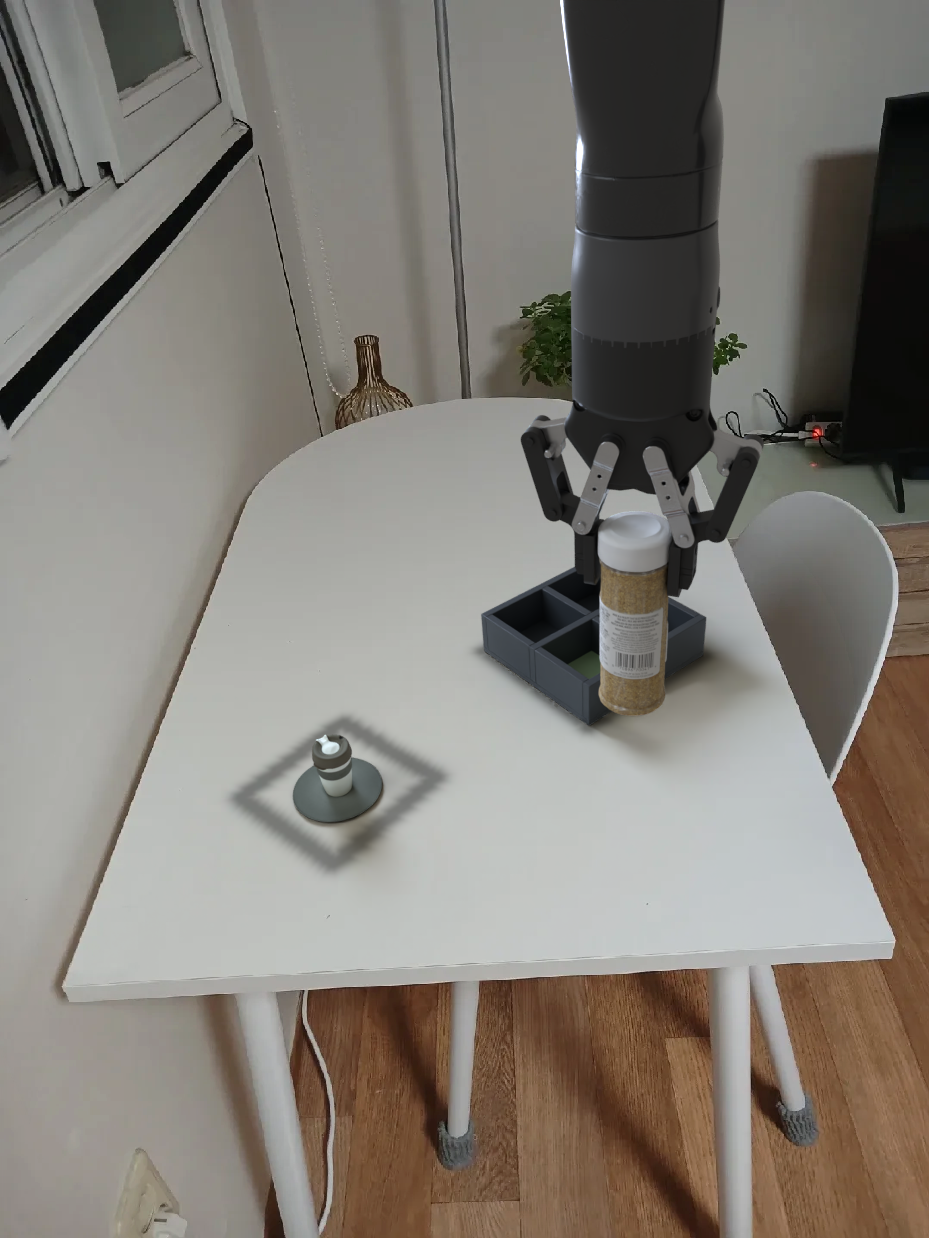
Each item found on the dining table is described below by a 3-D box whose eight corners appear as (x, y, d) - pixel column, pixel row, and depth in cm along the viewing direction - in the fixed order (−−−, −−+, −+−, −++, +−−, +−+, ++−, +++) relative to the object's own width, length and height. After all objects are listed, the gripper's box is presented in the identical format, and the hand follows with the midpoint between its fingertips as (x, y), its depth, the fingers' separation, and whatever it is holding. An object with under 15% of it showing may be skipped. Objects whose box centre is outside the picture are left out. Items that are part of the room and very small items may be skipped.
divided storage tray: (703, 655, 94) (706, 617, 91) (588, 725, 86) (589, 686, 84) (593, 592, 104) (594, 556, 101) (483, 650, 97) (480, 613, 94)
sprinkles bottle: (672, 683, 66) (682, 513, 58) (655, 725, 63) (664, 550, 55) (607, 671, 68) (609, 503, 60) (588, 711, 64) (587, 539, 57)
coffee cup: (335, 863, 75) (325, 820, 73) (241, 797, 82) (228, 755, 79) (436, 777, 82) (431, 734, 80) (342, 722, 89) (334, 681, 86)
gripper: (490, 328, 50) (507, 599, 59) (775, 344, 45) (741, 636, 55) (536, 286, 55) (544, 539, 65) (793, 295, 50) (760, 568, 60)
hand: (634, 582), depth 60 cm, fingers closed on sprinkles bottle, 4 cm apart
